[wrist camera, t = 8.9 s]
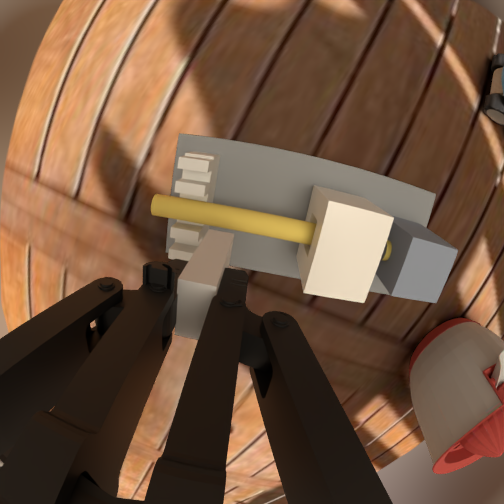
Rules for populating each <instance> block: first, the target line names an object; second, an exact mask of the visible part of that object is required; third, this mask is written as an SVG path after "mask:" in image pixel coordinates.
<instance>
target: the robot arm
mask: <svg viewBox="0 0 504 504" xmlns="http://www.w3.org/2000/svg"><path fill="white" fill-rule="evenodd" d="M233 239H234V234H233V233H227V232H222V231H217V230H211V229H209V230H208V232H207V233H206V235H205V237H204V238H203V240H202V241H201V243H200V244H199V246H198V247H197V249H196V251H195V252H194V254H193V255H192V257H191V258H190V260H189V261H185V260H180V259H174V260H172V261H169V262H168V263H165V262H158V261H157V262H149V263H146V264H145V265H143V285H142V286H141V287H140V288H139V290H123V284H122V283H121V281H119V280H118V279H115V278H111V277H105V278H100V279H97V280H95V281H93V282H91V283H90V284H88V285H86V286H85V287H83V288H81V289H79V290H78V291H76V292H74V293H73V294H71V295H69V296H68V297H66V298H64V299H63V300H61V301H59V302H58V303H56V304H54V305H53V306H51V307H49V308H48V309H46V310H44V311H43V312H41V313H40V314H38V315H36V316H35V317H33V318H32V319H30V320H29V321H27V322H25V323H24V324H22V325H21V326H19V327H18V328H16V329H14V330H13V331H11V332H10V333H8V334H7V335H5V336H4V337H2V338H1V339H0V504H223V501H224V492H225V484H226V460H227V452H228V444H229V436H230V428H231V420H232V412H233V404H234V396H235V388H236V380H237V372H238V364H239V362H240V363H243V364H245V365H248V366H250V374H251V378H252V382H253V385H254V389H255V393H256V396H257V400H258V404H259V407H260V411H261V414H262V418H263V421H264V425H265V428H266V432H267V435H268V439H269V442H270V446H271V449H272V453H273V456H274V459H275V463H276V466H277V469H278V473H279V476H280V479H281V482H282V485H283V489H284V492H285V495H286V498H287V501H288V504H393V503H392V501H391V499H390V497H389V495H388V494H387V492H386V490H385V488H384V486H383V484H382V482H381V480H380V478H379V476H378V474H377V472H376V470H375V468H374V467H373V465H372V463H371V461H370V459H369V457H368V455H367V453H366V451H365V449H364V447H363V446H362V444H361V442H360V440H359V438H358V436H357V434H356V432H355V430H354V428H353V426H352V425H351V423H350V421H349V419H348V417H347V415H346V413H345V411H344V409H343V408H342V406H341V404H340V402H339V400H338V398H337V396H336V394H335V392H334V391H333V389H332V387H331V385H330V383H329V381H328V379H327V377H326V375H325V374H324V372H323V370H322V368H321V366H320V364H319V362H318V360H317V359H316V357H315V355H314V353H313V351H312V349H311V347H310V345H309V344H308V342H307V340H306V338H305V336H304V334H303V332H302V330H301V329H300V327H299V325H298V323H297V321H296V320H295V319H294V318H293V317H292V316H290V315H289V314H286V313H284V312H278V311H272V312H268V313H265V314H264V316H263V317H261V316H258V315H256V314H254V313H252V312H251V311H249V310H248V309H247V307H246V304H245V301H246V293H247V285H248V277H249V276H248V275H247V274H246V272H245V271H241V270H236V269H231V268H229V263H230V257H231V251H232V245H233ZM94 320H95V323H96V326H95V327H93V328H91V327H90V323H91V322H92V321H94ZM174 327H175V335H178V336H182V337H187V338H191V339H196V340H198V343H197V346H196V349H195V352H194V355H193V358H192V361H191V364H190V367H189V371H188V374H187V377H186V380H185V383H184V386H183V390H182V393H181V396H180V399H179V403H178V406H177V409H176V412H175V416H174V419H173V422H172V425H171V429H170V432H169V435H168V439H167V442H166V446H165V449H164V452H163V454H162V456H161V457H160V458H158V460H157V462H156V464H155V467H154V470H153V473H152V476H151V480H150V483H149V486H148V490H147V493H146V497H145V500H144V501H140V500H131V499H123V498H117V497H116V496H117V493H118V487H119V473H120V470H121V467H122V464H123V461H124V459H125V456H126V453H127V451H128V448H129V445H130V443H131V440H132V438H133V435H134V432H135V430H136V427H137V425H138V422H139V419H140V417H141V414H142V412H143V409H144V407H145V404H146V402H147V399H148V397H149V394H150V392H151V390H152V387H153V385H154V382H155V380H156V377H157V375H158V373H159V370H160V368H161V365H162V363H163V361H164V358H165V356H166V354H167V351H168V349H169V347H170V344H171V342H172V331H173V329H174ZM54 406H55V407H54ZM53 407H54V408H53ZM52 408H53V409H52ZM51 409H52V411H50V410H51ZM49 411H50V412H49Z"/></svg>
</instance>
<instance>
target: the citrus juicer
mask: <svg viewBox="0 0 504 504" xmlns="http://www.w3.org/2000/svg"><path fill="white" fill-rule="evenodd" d="M409 382H410V389H411V398H412V403H413V407H414V410H415V414H416V417H417V419H418V422H419V425H420V427H421V430H422V433H423V435H424V438H425V441H426V444H427V447H428V449H429V452H430V455H431V458H432V461H433V464H434V466H433V472H434V473H436V474H444V473H449V472H452V471H455V470H458V469H460V468H462V467H464V466H467V465H469V464H471V463H473V462H474V461H476V460H478V459H480V458H481V457H483V456H486V457H499V456H501V455H502V454H503V452H504V341H503V340H502V339H501V338H500V337H499V336H497V335H496V334H495V333H493V332H492V331H491V330H489V329H487V328H485V327H483V326H481V325H480V324H479V323H477V322H475V321H472V320H469V319H466V318H455V319H452V320H448V321H446V322H444V323H442V324H441V325H439V326H438V327H436V328H435V329H433V330H432V331H431V332H429V333H428V334H427V335H426V337H425V338H424V339H423V340H422V341H421V342H420V343H419V345H418V346H417V347H416V349H415V351H414V352H413V355H412V357H411V360H410V366H409Z"/></svg>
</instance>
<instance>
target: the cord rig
mask: <svg viewBox="0 0 504 504" xmlns="http://www.w3.org/2000/svg"><path fill="white" fill-rule="evenodd" d="M314 185H316V186H320V187H324V188H328V189H332V190H336V191H340V192H344V193H348V194H352V195H356V196H360V197H363V198H366V199H367V200H369V201H370V202H372V203H373V204H375V205H376V206H378V207H379V208H381V209H382V210H384V211H385V212H387V213H388V214H390V215H391V216H393V217H394V220H393V223H392V226H391V229H390V233H389V236H388V239H387V242H386V245H385V248H384V251H383V254H382V257H381V260H380V262H379V265H378V268H377V271H376V273H375V276H374V279H373V281H372V284H371V287H370V289H369V291H371V292H377V293H383V294H389V295H391V296H395V297H401V298H407V299H414V300H420V301H426V302H432V303H436V302H437V300H438V298H439V296H440V294H441V291H442V289H443V287H444V285H445V282H446V280H447V278H448V275H449V273H450V270H451V268H452V265H453V263H454V260H455V258H456V255H457V252H458V250H457V249H456V248H455V247H453V246H452V245H450V244H449V243H448V242H446V241H445V240H443V239H442V238H440V237H439V236H437V235H436V234H434V233H433V232H432V231H430V230H429V229H427V228H426V226H427V223H428V220H429V217H430V213H431V210H432V207H433V203H434V200H435V196H436V194H434V193H431V192H429V191H426V190H423V189H421V188H418V187H415V186H412V185H409V184H406V183H404V182H401V181H398V180H395V179H392V178H388V177H385V176H382V175H379V174H376V173H373V172H369V171H366V170H362V169H359V168H356V167H352V166H348V165H345V164H341V163H337V162H333V161H330V160H326V159H322V158H318V157H313V156H309V155H305V154H301V153H296V152H292V151H287V150H282V149H277V148H272V147H267V146H262V145H256V144H251V143H245V142H239V141H233V140H226V139H220V138H213V137H205V136H197V135H189V134H179V137H178V144H177V151H176V158H175V165H174V172H173V180H172V189H171V196H168V195H161V194H155V196H154V197H153V200H152V204H151V213H152V215H155V216H161V217H166V218H168V229H167V242H166V253H169V257H168V258H169V259H180V260H185V261H189V260H190V258H191V257H192V255H193V254H194V252H195V251H196V249H197V247H198V246H199V244H200V243H201V241H202V240H203V238H204V237H205V235H206V233H207V232H208V230H209V229H211V230H217V231H222V232H227V233H233V234H234V239H233V245H232V251H231V257H230V263H229V265H230V266H235V267H241V268H246V269H251V270H256V271H261V272H267V273H272V274H277V275H282V276H288V277H293V278H298V279H301V277H300V272H299V267H298V262H297V257H296V255H297V252H298V248H299V244H300V243H302V244H307V245H311V243H312V239H313V236H314V232H315V228H316V223H312V222H307V221H305V220H306V216H307V212H308V207H309V203H310V199H311V195H312V190H313V186H314Z"/></svg>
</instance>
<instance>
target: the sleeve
mask: <svg viewBox="0 0 504 504" xmlns="http://www.w3.org/2000/svg"><path fill="white" fill-rule="evenodd" d="M393 220H394V217H393V216H391V215H390V214H388V213H387V212H385V211H384V210H382V209H381V208H379V207H378V206H376V205H375V204H373V203H372V202H370V201H369V200H367V199H366V198H363V197H360V196H356V195H352V194H348V193H344V192H340V191H336V190H332V189H328V188H324V187H320V186H316V185H314V186H313V190H312V195H311V199H310V203H309V207H308V212H307V216H306V220H305V221H307V222H312V223H316V228H315V232H314V236H313V239H312V243H311V245H307V244H302V243H300V244H299V248H298V252H297V255H296V257H297V262H298V267H299V272H300V277H301V282H302V288H303V293H307V294H313V295H319V296H325V297H330V298H336V299H343V300H349V301H355V302H361V303H364V302H365V299H366V297H367V294H368V292H369V289H370V287H371V284H372V281H373V279H374V276H375V273H376V271H377V268H378V265H379V262H380V260H381V257H382V254H383V251H384V248H385V245H386V242H387V239H388V236H389V233H390V229H391V226H392V223H393Z"/></svg>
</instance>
